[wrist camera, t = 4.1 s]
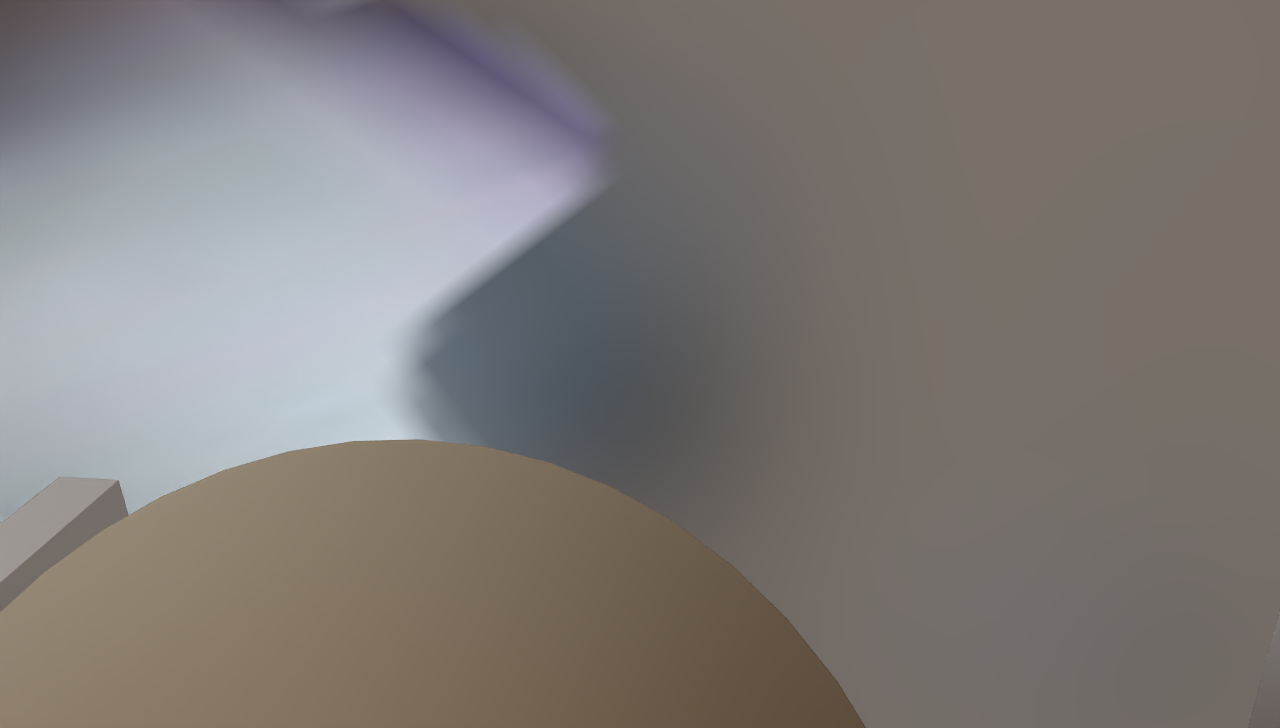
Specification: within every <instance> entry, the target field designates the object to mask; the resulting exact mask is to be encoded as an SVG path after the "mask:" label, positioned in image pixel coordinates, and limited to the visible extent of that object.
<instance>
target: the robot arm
mask: <svg viewBox="0 0 1280 728" xmlns="http://www.w3.org/2000/svg"><path fill="white" fill-rule="evenodd" d="M127 516H129V515H128V511H127V508H126V505H125V501H124V498H123V494H122V491H121V487H120V484H119V480H108V479H87V478H65V477H59V478H58V479H56V480H55V481H54V482H53V483H51V484H50V485H49V486H47V487H46V488H45V489H44V490H42V491H41V492H40V493H39V494H37V495H36V496H35V497H34V498H32V499H31V500H30V501H29V502H27V503H26V504H25V505H24V506H22V507H21V508H20V509H19V510H17V511H16V512H15V513H14V514H12V515H11V516H10V517H9V518H7V519H6V520H5V521H4V522H2V523H1V524H0V612H1V611H2V610H3V609H4V608H5V607H7V606H8V605H9V604H10V603H11V602H12V601H13V600H14V599H15V598H17V597H18V596H19V595H20V594H21V593H22V592H23V591H24V590H25V589H27V588H28V587H29V586H30V585H31V584H32V583H33V582H34V581H35V580H37V579H38V578H39V577H40V576H41V575H42V574H43V573H44V572H46V571H47V570H49V569H50V568H51V567H53V566H54V565H55V564H57V563H58V562H60V561H61V560H62V559H64V558H65V557H66V556H68V555H69V554H71V553H72V552H73V551H75V550H76V549H77V548H79V547H80V546H82V545H83V544H84V543H86V542H87V541H88V540H90V539H91V538H93V537H94V536H95V535H97V534H98V533H100V532H101V531H102V530H104V529H106V528H108V527H109V526H111V525H113V524H115V523H116V522H118V521H120V520H122V519H123V518H125V517H127ZM1248 728H1280V611H1279V615H1278V619H1277V623H1276V626H1275V630H1274V634H1273V637H1272V641H1271V645H1270V649H1269V652H1268V656H1267V660H1266V664H1265V667H1264V671H1263V675H1262V678H1261V682H1260V686H1259V690H1258V693H1257V697H1256V701H1255V705H1254V708H1253V712H1252V716H1251V719H1250V723H1249V727H1248Z"/></svg>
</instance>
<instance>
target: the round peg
mask: <svg viewBox="0 0 1280 728" xmlns="http://www.w3.org/2000/svg"><path fill="white" fill-rule="evenodd" d="M0 728H866V727H865V726H864V724H863V722H862V721H861V719H860V718H859V716H858V714H857V713H856V711H855V709H854V708H853V706H852V704H851V703H850V701H849V700H848V698H847V696H846V695H845V693H844V692H843V690H842V688H841V687H840V685H839V683H838V682H837V681H836V679H835V678H834V677H833V676H832V674H831V673H830V672H829V670H828V669H827V668H826V667H825V665H824V664H823V663H822V662H821V660H820V659H819V658H818V657H817V655H816V654H815V653H814V652H813V650H812V649H811V648H810V647H809V645H808V644H807V643H806V642H805V640H804V639H803V638H802V637H801V635H800V634H799V633H798V632H797V630H796V629H795V628H794V627H793V625H792V624H791V623H790V622H789V620H788V619H787V618H786V617H785V616H784V615H783V614H782V613H781V612H780V611H779V610H778V609H777V608H776V607H775V606H774V605H773V604H772V603H770V602H769V601H768V600H767V599H766V598H765V597H764V596H763V595H762V594H761V593H760V592H759V591H758V590H757V589H756V588H755V587H754V586H753V585H752V584H751V583H750V582H748V580H747V579H746V578H745V577H744V576H742V574H741V573H740V572H739V571H738V570H737V569H736V568H734V567H733V566H732V565H731V564H730V563H728V562H727V561H726V560H724V559H723V558H722V557H720V556H719V555H718V554H716V553H715V552H714V551H712V550H711V549H710V548H708V547H707V546H705V545H704V544H703V543H702V542H700V541H699V540H698V539H696V538H695V537H694V536H692V535H691V534H690V533H688V532H687V531H686V530H684V529H683V528H682V527H680V526H679V525H678V524H676V523H675V522H673V521H672V520H670V519H668V518H666V517H664V516H663V515H661V514H659V513H657V512H656V511H654V510H652V509H650V508H649V507H647V506H645V505H643V504H641V503H640V502H638V501H636V500H634V499H632V498H631V497H629V496H627V495H625V494H623V493H622V492H620V491H618V490H616V489H615V488H613V487H610V486H608V485H605V484H603V483H600V482H598V481H595V480H593V479H590V478H587V477H585V476H582V475H580V474H577V473H575V472H572V471H570V470H567V469H564V468H562V467H560V466H557V465H554V464H552V463H549V462H546V461H542V460H538V459H534V458H529V457H525V456H521V455H517V454H513V453H508V452H505V451H500V450H497V449H493V448H488V447H484V446H475V445H466V444H456V443H447V442H437V441H428V440H382V441H352V442H346V443H339V444H333V445H327V446H320V447H314V448H308V449H301V450H295V451H289V452H285V453H282V454H278V455H275V456H271V457H268V458H264V459H261V460H257V461H254V462H250V463H247V464H244V465H240V466H237V467H233V468H230V469H226V470H223V471H221V472H219V473H216V474H214V475H212V476H209V477H207V478H205V479H202V480H200V481H197V482H195V483H193V484H190V485H188V486H186V487H183V488H181V489H179V490H176V491H174V492H172V493H169V494H167V495H164V496H162V497H160V498H159V499H157V500H155V501H153V502H152V503H150V504H148V505H146V506H145V507H143V508H141V509H139V510H138V511H136V512H134V513H132V514H131V515H129V516H127V517H125V518H123V519H122V520H120V521H118V522H116V523H115V524H113V525H111V526H109V527H108V528H106V529H104V530H102V531H101V532H100V533H98V534H97V535H95V536H94V537H93V538H91V539H90V540H88V541H87V542H86V543H84V544H83V545H82V546H80V547H79V548H77V549H76V550H75V551H73V552H72V553H71V554H69V555H68V556H66V557H65V558H64V559H62V560H61V561H60V562H58V563H57V564H55V565H54V566H53V567H51V568H50V569H49V570H47V571H46V572H44V573H43V574H42V575H41V576H40V577H39V578H38V579H37V580H35V581H34V582H33V583H32V584H31V585H30V586H29V587H28V588H27V589H25V590H24V591H23V592H22V593H21V594H20V595H19V596H18V597H17V598H15V599H14V600H13V601H12V602H11V603H10V604H9V605H8V606H7V607H5V608H4V609H3V610H2V611H1V612H0Z"/></svg>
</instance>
